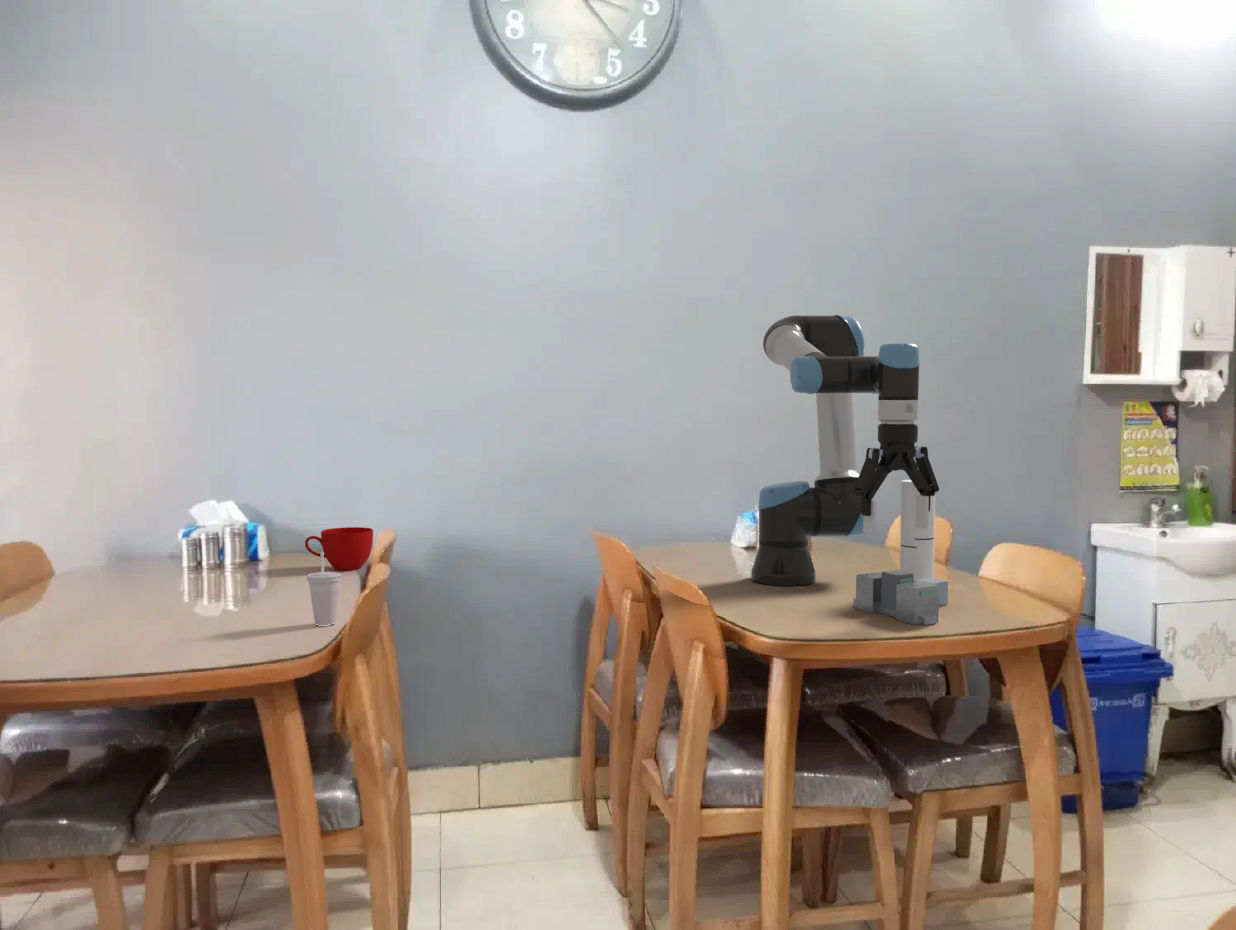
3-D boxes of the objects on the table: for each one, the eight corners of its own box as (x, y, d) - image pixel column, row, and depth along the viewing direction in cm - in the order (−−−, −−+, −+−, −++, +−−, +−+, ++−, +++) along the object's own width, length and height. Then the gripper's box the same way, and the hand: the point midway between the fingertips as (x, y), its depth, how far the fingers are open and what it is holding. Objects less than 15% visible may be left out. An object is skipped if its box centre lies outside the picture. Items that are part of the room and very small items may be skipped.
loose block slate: (912, 603, 196) (913, 580, 196) (927, 600, 199) (927, 577, 199) (933, 607, 192) (934, 583, 192) (947, 604, 195) (948, 580, 195)
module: (881, 606, 186) (881, 571, 186) (896, 604, 188) (896, 570, 187) (897, 611, 182) (898, 575, 181) (913, 609, 184) (913, 573, 183)
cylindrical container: (935, 597, 202) (937, 482, 200) (901, 596, 203) (902, 482, 202) (931, 591, 209) (933, 479, 207) (898, 590, 210) (899, 479, 209)
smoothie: (330, 619, 184) (328, 548, 183) (349, 623, 180) (348, 551, 179) (301, 624, 179) (299, 552, 178) (320, 629, 175) (318, 555, 174)
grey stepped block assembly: (847, 606, 194) (848, 572, 193) (870, 603, 196) (870, 570, 196) (918, 626, 176) (919, 589, 175) (942, 622, 178) (942, 586, 178)
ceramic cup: (306, 566, 245) (305, 529, 245) (372, 563, 250) (371, 526, 250) (305, 575, 233) (304, 535, 232) (375, 571, 238) (374, 532, 237)
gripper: (861, 424, 174) (860, 536, 176) (959, 422, 186) (956, 528, 187) (835, 423, 181) (833, 532, 182) (930, 421, 192) (928, 524, 194)
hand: (896, 530), depth 185 cm, fingers open, 13 cm apart
